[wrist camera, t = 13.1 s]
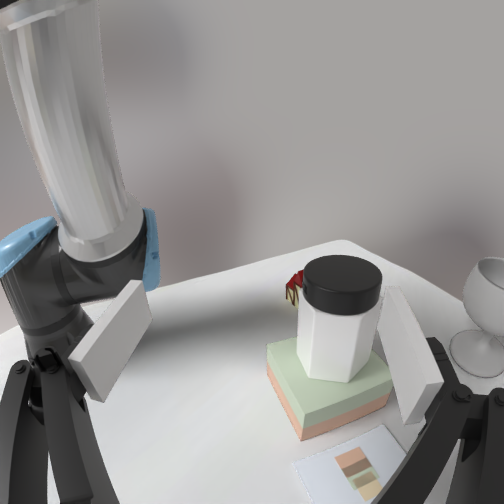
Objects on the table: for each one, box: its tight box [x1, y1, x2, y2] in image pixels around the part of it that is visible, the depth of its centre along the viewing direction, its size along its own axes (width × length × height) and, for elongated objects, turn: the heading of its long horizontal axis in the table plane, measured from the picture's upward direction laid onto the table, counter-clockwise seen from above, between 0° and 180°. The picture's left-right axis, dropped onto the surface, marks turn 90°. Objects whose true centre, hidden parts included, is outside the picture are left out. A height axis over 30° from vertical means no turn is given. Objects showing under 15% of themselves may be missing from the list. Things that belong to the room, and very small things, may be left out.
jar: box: [296, 255, 383, 383], centre depth 31 cm, size 9×8×12 cm
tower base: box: [267, 337, 394, 441], centre depth 35 cm, size 12×12×6 cm
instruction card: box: [293, 424, 407, 504], centre depth 24 cm, size 9×12×1 cm
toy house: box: [286, 270, 303, 308], centre depth 55 cm, size 6×7×8 cm
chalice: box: [450, 257, 504, 378], centre depth 33 cm, size 14×14×15 cm
